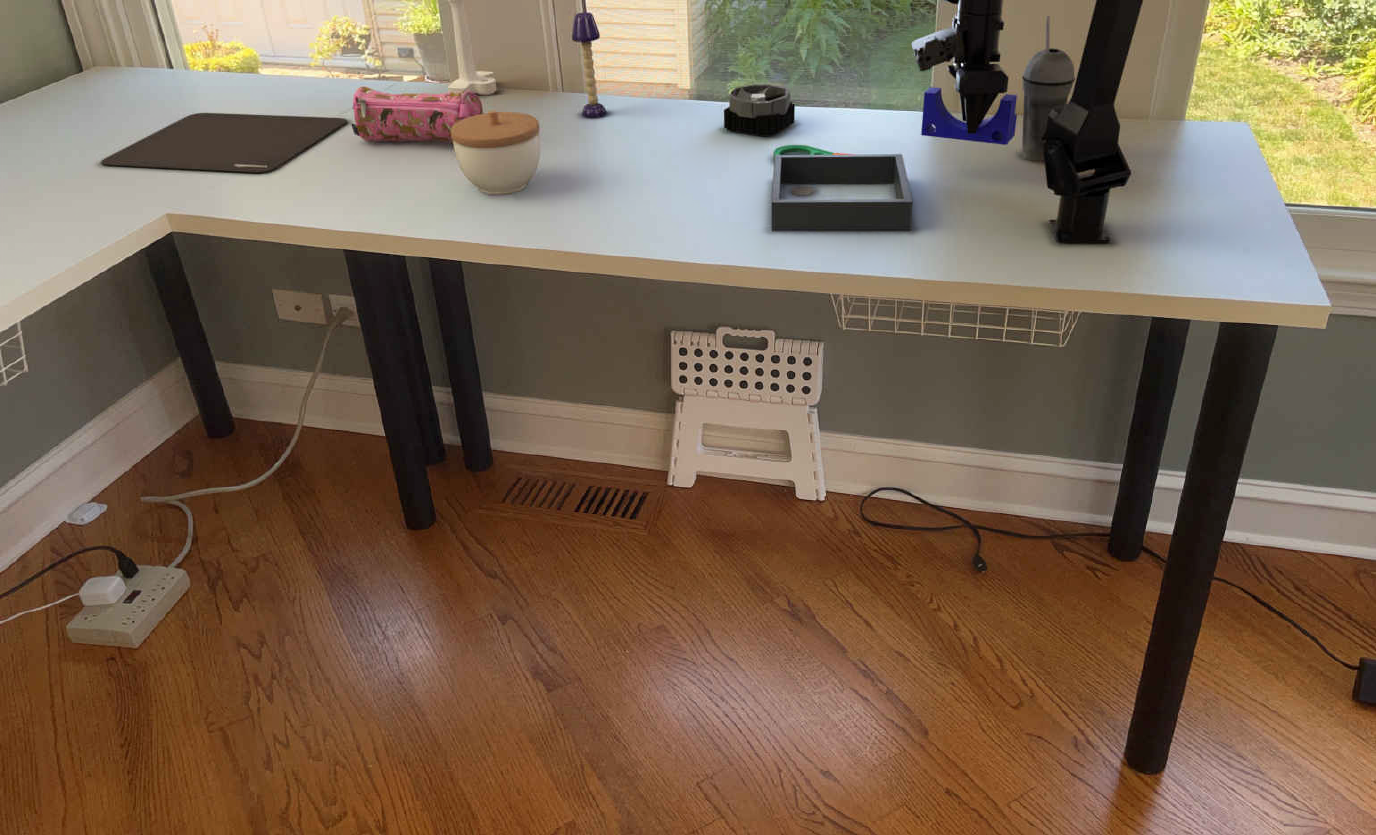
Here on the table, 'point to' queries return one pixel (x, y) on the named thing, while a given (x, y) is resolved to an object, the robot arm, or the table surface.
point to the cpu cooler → (759, 110)
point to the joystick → (467, 58)
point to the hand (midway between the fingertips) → (968, 126)
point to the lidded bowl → (497, 150)
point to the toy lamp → (588, 60)
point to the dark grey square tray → (840, 210)
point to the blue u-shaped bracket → (948, 126)
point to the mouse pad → (226, 142)
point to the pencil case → (411, 114)
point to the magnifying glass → (804, 150)
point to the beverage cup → (1043, 94)
